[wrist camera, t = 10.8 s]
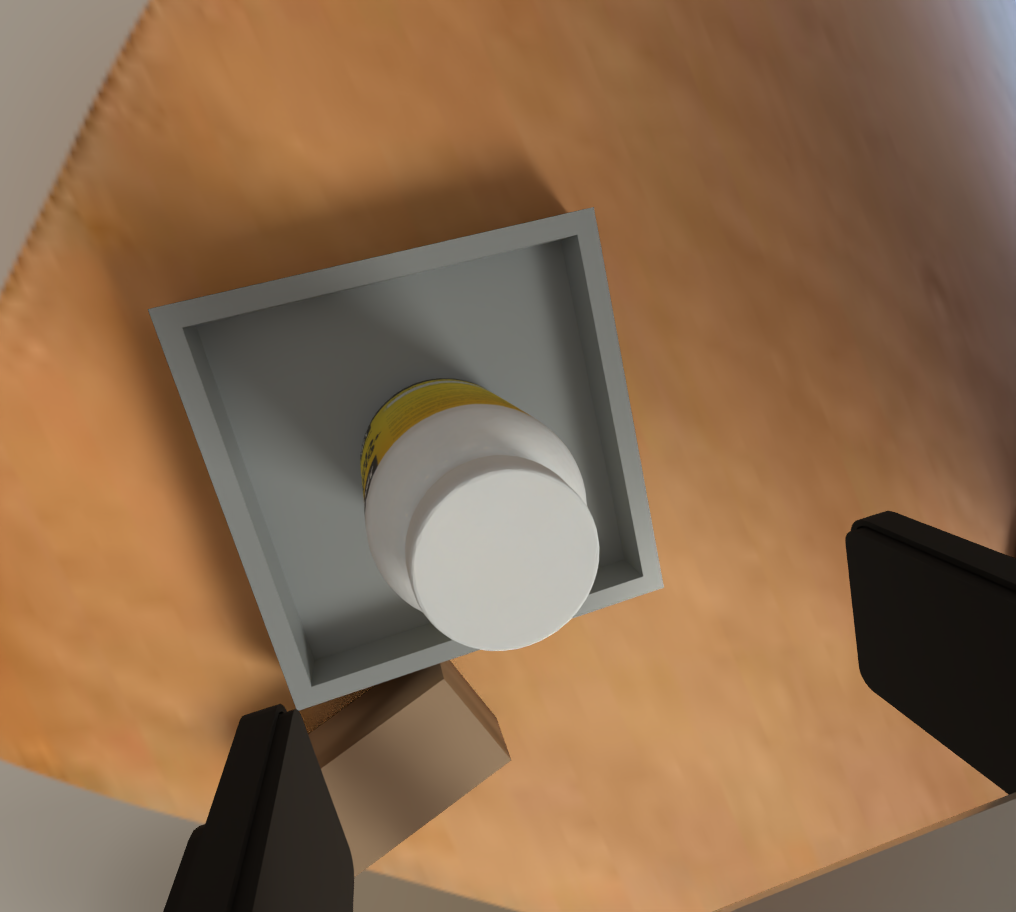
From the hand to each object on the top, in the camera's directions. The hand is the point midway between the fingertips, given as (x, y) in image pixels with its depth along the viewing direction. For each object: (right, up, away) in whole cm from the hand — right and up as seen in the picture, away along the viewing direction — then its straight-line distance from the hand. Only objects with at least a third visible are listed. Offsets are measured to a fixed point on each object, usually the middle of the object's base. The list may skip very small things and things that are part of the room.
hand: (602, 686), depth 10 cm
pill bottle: (-4, +4, +16) cm, 17 cm away
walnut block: (-7, -9, +19) cm, 22 cm away
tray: (-5, +4, +17) cm, 18 cm away
